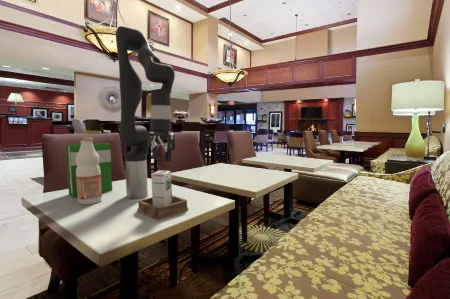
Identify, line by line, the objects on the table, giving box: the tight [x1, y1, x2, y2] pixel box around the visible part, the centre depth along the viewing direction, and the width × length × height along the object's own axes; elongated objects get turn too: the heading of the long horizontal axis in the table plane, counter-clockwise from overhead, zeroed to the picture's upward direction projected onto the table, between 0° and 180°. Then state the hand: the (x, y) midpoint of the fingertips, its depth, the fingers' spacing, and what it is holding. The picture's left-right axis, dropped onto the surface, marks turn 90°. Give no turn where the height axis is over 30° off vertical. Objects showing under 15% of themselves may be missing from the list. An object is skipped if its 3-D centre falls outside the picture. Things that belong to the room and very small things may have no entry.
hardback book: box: [65, 142, 113, 199], centre depth 123 cm, size 18×7×24 cm, turn 135°
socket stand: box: [137, 194, 189, 221], centre depth 99 cm, size 14×14×4 cm
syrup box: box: [150, 170, 173, 208], centre depth 98 cm, size 6×6×14 cm
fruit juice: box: [75, 137, 103, 205], centre depth 108 cm, size 9×9×28 cm
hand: (161, 160), depth 97 cm, fingers open, 8 cm apart
